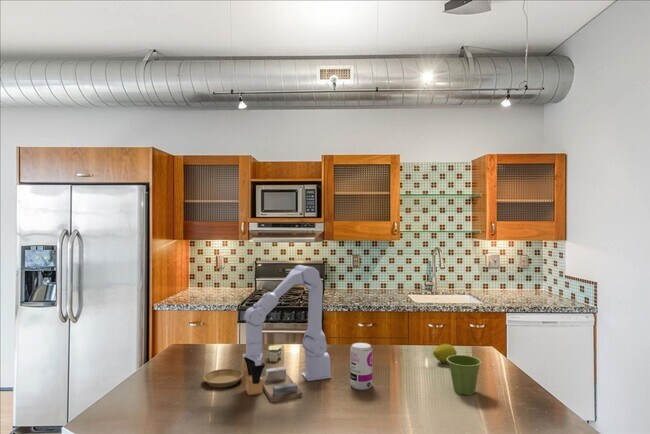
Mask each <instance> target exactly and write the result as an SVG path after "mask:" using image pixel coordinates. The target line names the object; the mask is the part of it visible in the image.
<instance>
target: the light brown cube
mask: <svg viewBox="0 0 650 434" xmlns="http://www.w3.org/2000/svg"><path fill="white" fill-rule="evenodd" d="M262 380H263V379H262V377H261V378H260V382H259V383H258V384H253V382H252V375H245V391H246V394H247V396H251V395H258V394H263V388H262Z"/></svg>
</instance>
